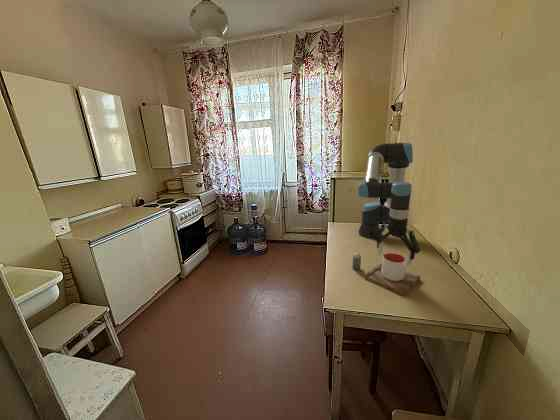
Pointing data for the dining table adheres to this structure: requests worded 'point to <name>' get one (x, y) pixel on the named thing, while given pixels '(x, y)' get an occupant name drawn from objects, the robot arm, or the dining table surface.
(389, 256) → the cup
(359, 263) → the shaker
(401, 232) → the robot arm
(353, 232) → the dining table surface
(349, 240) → the dining table surface
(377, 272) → the board
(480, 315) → the dining table surface
